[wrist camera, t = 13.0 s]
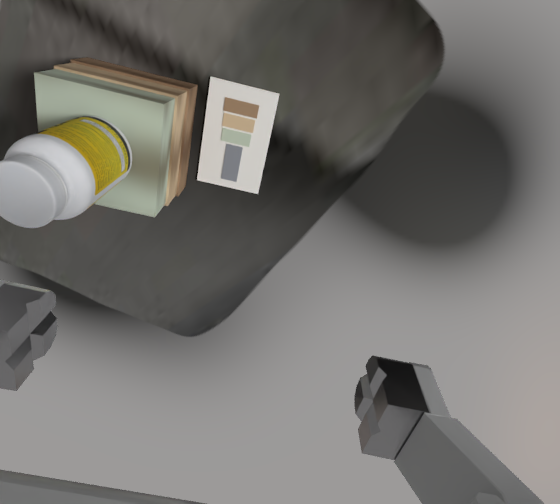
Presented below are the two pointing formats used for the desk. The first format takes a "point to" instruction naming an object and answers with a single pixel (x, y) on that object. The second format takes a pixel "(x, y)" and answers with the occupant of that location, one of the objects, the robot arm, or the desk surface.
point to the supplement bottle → (62, 171)
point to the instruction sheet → (236, 134)
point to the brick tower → (127, 124)
